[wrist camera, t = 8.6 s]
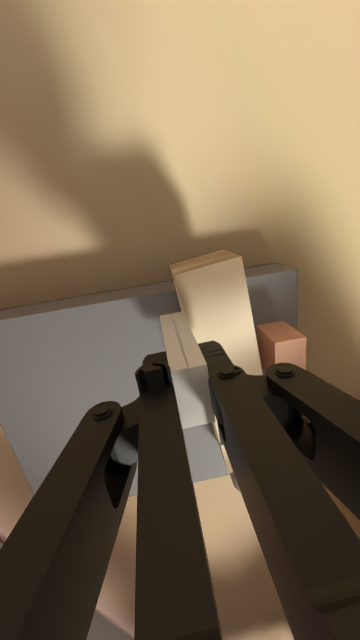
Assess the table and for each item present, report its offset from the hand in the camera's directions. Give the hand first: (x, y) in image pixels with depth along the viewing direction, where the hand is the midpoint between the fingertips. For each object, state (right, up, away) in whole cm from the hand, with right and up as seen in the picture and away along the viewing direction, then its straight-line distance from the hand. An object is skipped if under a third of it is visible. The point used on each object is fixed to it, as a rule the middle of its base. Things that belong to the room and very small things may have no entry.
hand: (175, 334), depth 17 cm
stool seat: (-2, -5, +7) cm, 8 cm away
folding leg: (+3, -3, +3) cm, 5 cm away
